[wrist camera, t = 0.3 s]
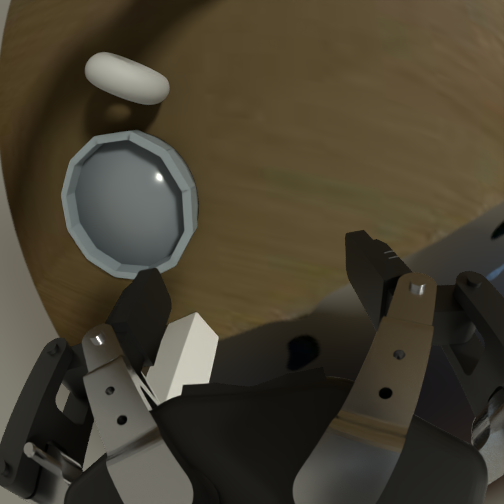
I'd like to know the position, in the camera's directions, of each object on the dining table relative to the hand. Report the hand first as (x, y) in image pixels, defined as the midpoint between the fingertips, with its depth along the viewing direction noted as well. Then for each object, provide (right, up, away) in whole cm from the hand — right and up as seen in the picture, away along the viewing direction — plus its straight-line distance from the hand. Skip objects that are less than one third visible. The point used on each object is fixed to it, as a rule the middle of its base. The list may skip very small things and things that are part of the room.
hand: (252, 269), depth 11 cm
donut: (-12, +21, +15) cm, 28 cm away
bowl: (-16, +7, +22) cm, 28 cm away
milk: (-9, -12, +31) cm, 34 cm away
